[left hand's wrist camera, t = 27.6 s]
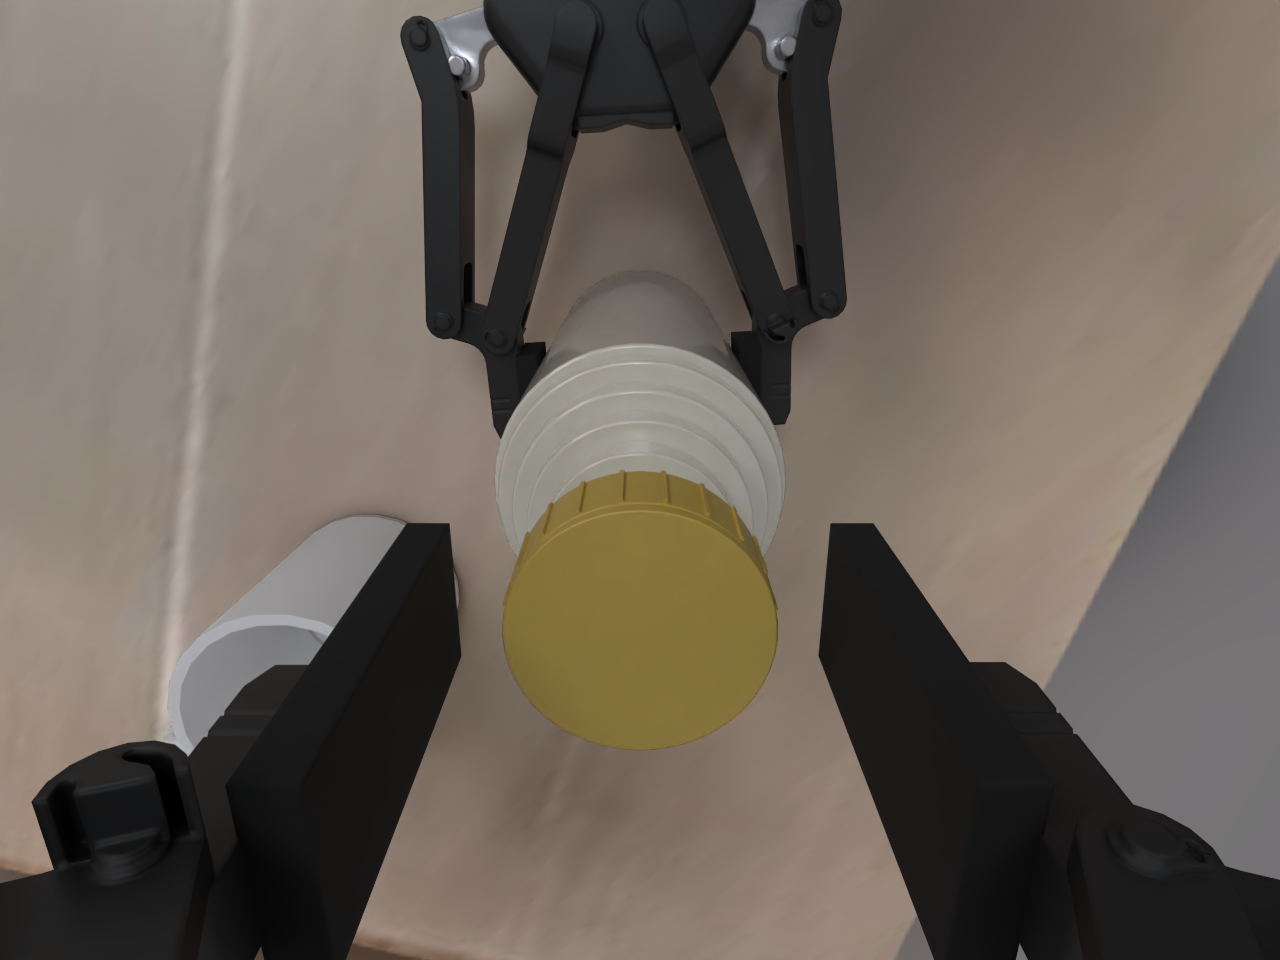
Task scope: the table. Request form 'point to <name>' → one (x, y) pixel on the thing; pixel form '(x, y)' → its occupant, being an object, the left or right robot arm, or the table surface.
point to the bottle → (640, 408)
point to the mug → (277, 621)
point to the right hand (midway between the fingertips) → (646, 508)
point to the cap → (640, 612)
